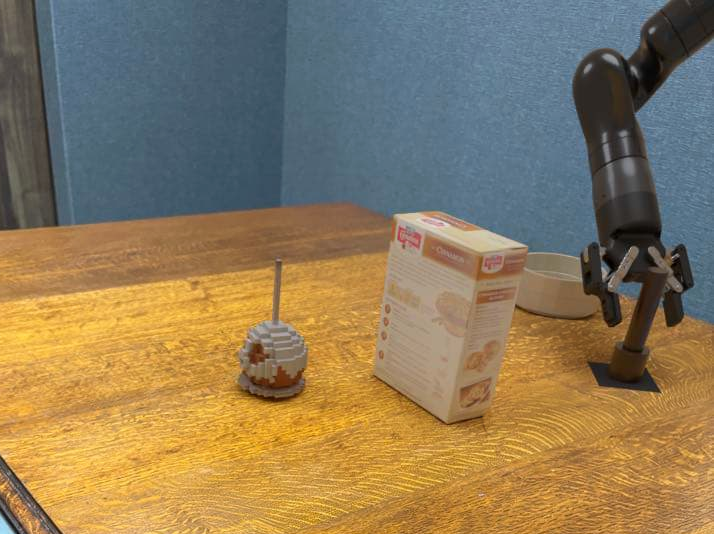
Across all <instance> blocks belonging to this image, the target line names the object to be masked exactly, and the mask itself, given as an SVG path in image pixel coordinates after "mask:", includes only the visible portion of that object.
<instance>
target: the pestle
mask: <svg viewBox="0 0 714 534" xmlns="http://www.w3.org/2000/svg"><path fill="white" fill-rule="evenodd" d="M668 275H669V271H668V270H666V269H663V268H659V267H648V268H647V271H646V274H645V277H644V280H643V283H641V287H640V289H639V294H638V295H637V300H636V301H635V306H634V308H633V311H632V312H633V313H632V314H631V318H630V321H629V324H628V328H627V331H626V333H625V337H624V339H623V341H622V340H621V341H617V342H616V343H615V344H614V348H613V349H612V354H611V357H610V360H609V363H608V364H609V366H608V369H607V375H608V376H609V377H610V378H612V379H613V380H616V381H619V382H623V383H638V382H640V381H641V378H642V375H643V372H644V369H645V368H646V366H647V363H648V360H649V357H650V354H651V348H649V347H647V346H646V343H647V340H648V338H649V335H650V332H651V329H652V325H653V322H654V320H655V316H656V313H657V310H658V307H659V305H660V302H661V299H662V293H663V290H664V287H665V285H667V284H666V281H667V278H668Z"/></svg>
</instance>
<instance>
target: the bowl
mask: <svg viewBox="0 0 714 534" xmlns="http://www.w3.org/2000/svg"><path fill="white" fill-rule="evenodd" d="M601 269H602V279H603V280H604V279H605V277H606V275H607V273H608V271H607V269H605V268H604V267H603V266H601ZM600 304H601V302H600V300H599V299H598V297H597V296H595V295H592V294H591V295H590V296H588V295H586V294H585V293H584V290H583V280H582V270H581V260H580V257H577V256H575V255H574V256H573V255H569V254H563V253H555V252H542V251H541V252H537V251H533V252H528V253H527V257H526V261H525V265H524V270H523V274H522V278H521V283H520V287H519V291H518V295H517V300H516V304H515V306H517V307H518V308H521V309H523V310H524V311H527V312H530V313H533V314H536V315H540V316H544V317H547V318H548V317H549V318H556V319H564V320H565V319H567V320H569V319H570V320H572V319H573V320H574V319H581V318H586V317H588V316H591V315H593V314H594V313H596V312H597V311H598V309H599V306H600Z"/></svg>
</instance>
